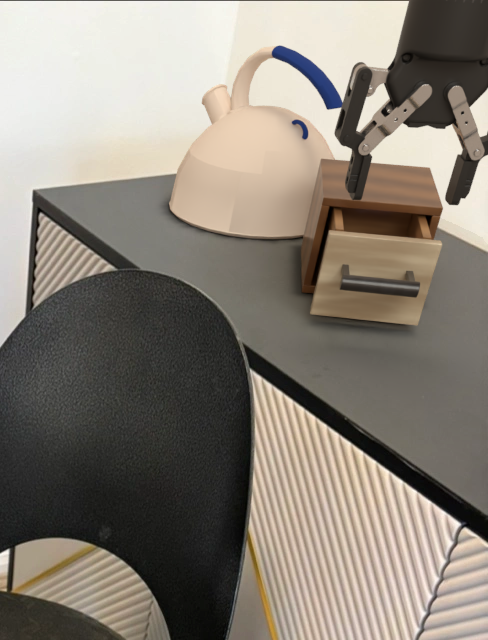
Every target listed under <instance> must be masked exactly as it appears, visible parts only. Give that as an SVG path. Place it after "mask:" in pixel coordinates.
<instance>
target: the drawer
mask: <svg viewBox="0 0 488 640" xmlns="http://www.w3.org/2000/svg"><path fill="white" fill-rule="evenodd" d="M442 248H443V243H442V240H440V239H439V240H438V239H434V240H431V234H430V231H429V227H428V224H427V220H426V216H425V215H422V214H411V213H400V212H389V211H378V210H367V209H356V208H345V207H334V206H330V209H329V214H328V218H327V222H326V226H325V231H324V235H323V239H322V243H321V248H320V252H319V256H318V260H317V265H316V272H317V283H316V287H315V291H314V294H313V295H312V299H311V304H310V308H309V314H310V315H313V316H322V317H333V318H343V319H351V320H361V321H368V322H369V321H370V322H378V323H379V322H380V323H387V324H388V323H389V324H397V325H399V324H400V325H408V326H418V325H419V323H420V319H421V316H422V313H423V310H424V306H425V303H426V300H427V297H428V293H429V290H430V287H431V284H432V280H433V277H434V274H435V270H436V266H437V264H438V261H439V258H440V254H441V250H442Z"/></svg>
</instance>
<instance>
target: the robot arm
mask: <svg viewBox="0 0 488 640" xmlns="http://www.w3.org/2000/svg"><path fill="white" fill-rule="evenodd" d="M403 19H404V20H403V23H402V27H401V31H400V36H399V39H398V42H397V46H396V52H395V55H394V58H393V60H392V62H390V64H389V66H388V67H387V68H385V67H384V68H383V67H375V66H368V65H367V64H366V63H365V62H363V61H359V62H357V63H355V64H354V65H353V67H352V69H351V72H350V76H349V79H348V83H347V87H346V90H345V93H344V97H343V99H342V102H343V104H342V107H341V108H340V110H339V113H338V114H339V115H338V117H337V121H336V125H335V129H334V133H333V134H334V137H335V138H336V140H337V141H338V143H339V144H340V145H341V146H342V147H346V148H348V149H350V150H351V154H350V158H349V161H350V162H349V167H348V171H347V175H346V179H345V187H346V189H347V191H348V193H349V195H350V197H351V199H352V200H361V199H362V196H363V192H364V188H365V184H366V180H367V176H368V172H369V168H370V164H371V163H372V161H373V156H372V154H371V153H372V152H373V151H374V150H375V149H376V148H377V146H379V145H380V144H381V142H383V140H385V139H386V138H387V137H389V136H391V135H392V134H393V133H394V132H395V131H396V130H397V129H398V128H399V127H401V125H402V124H403V125H404V126H406V127H407V128H412V129H413V128H415V129H418V128H423V127H430V128H434V129H437V130H445V129H446V128H447V127H449V126H452V128H453V130H454V132H455V134H456V137H457V139H458V141H459V144H460V147H461V150H462V151H461V153H460V154H459V153H458V154H457V155H456V158H455V161H454V166H453V167H452V171H451V176H450V179H449V181H448V185H447V188H446V191H445V196H444V200H445V202H446V203H447V204H448V206H459V205H460V203H461V199H465V200H466V198H467V197H468V195H469V193H470V191H471V189H472V185H473V182H474V180H475V175H476V172H477V169H478V166H479V163H480V161H482V159H484V158H485V157H486V156H488V131H487V132H486V134H485V135H482V136H480V134H479V129H478V126H477V123H476V120H475V119H474V115H473V113H472V111H471V107H472V106H473V105H474V104H475V103H476V101H478V100H479V99H480V98H481V96H483V95H484V94H485V93H486V92H487V90H488V0H408V3H407V7H406V11H405V15H404V18H403ZM380 85H384V88H385V90H386V93H387V96H388V99H387V100H386V101H385V102H384V104H382V105H381V107H380V108H378V110H377V111H376V112H375V113H373V115H372V117H371V119H370V120H369V122H367V123H366V124H365V125H364V127H363V128H362V129H361V130H360V131H358V130H357V129H358V126H359V123H360V119H361V116H362V113H363V109H364V106H365V102H366V99H367V98H369V97H372V96H373V95H374V94H375V93H376V90H377V88H378V87H379V86H380Z"/></svg>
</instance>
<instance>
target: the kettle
mask: <svg viewBox="0 0 488 640" xmlns="http://www.w3.org/2000/svg"><path fill="white" fill-rule="evenodd" d="M270 59H275V60H278V61H281V62H283V63H285V64H288V65H290V66H291V67H292V68H294V69H295V70H296V71H298V72H299V73H300V74H302V75H303V76H304V77H305V78H306V80H308V81H309V83H311V85H312V86H313V87H314V88H315V89H316V91H317V92H318V95H319V96H320V97H321V99H322V102H323V103H324V107H325V108H326V110H328V111H329V110H336V109H341V107H342V104H343V99H342V98H341V94H339V92H338V89H337V88H336V87H335V84H334V83H333V82H332V80H331V79H330V78H329V77H328V76H327V75H326V73H325V72H324V71H323V70H322V69H321V68H320V67H319V66H318V65H317V64H315V63H314V62H313V61H312V60H311V59H309V58H308V57H306V56H304V55H302V54H301V53H300V52H298V51H296V50H294V49H292V48H290V47H287V46H284V45H274V46H273V45H272V46H263V47H261V48H259V49H258V50H257V51H255V52H254V53H253V54H250V55H249V56H248V57H247V58H246V60H245V61H244V62H243V64H242V65H241V66H240V68H239V69H238V71H237V73H236V76H235V78H234V81H233V84H232V90H231V96H230V93H229V91H228V86H227V85H226V84H223V83H219V84H216V85H214V86H212V87H211V88H209V89H208V90H207V91H206V92H205V93H204V94H203V96H202V99H201V104H202V105H203V106H204V109H205V111H206V112H207V113H206V114H207V116H208V118H209V121H210V123H211V125H209V126H208V127H206V129H204V131H203V132H202V133H200V135H199V136H198V137H197V138H196V139H195V140H194V141H193V142H192V143H191V145H190V146H189V148H188V149H187V151H186V153H185V155H184V157H183V159H182V160H181V162H180V164H179V166H178V168H177V170H176V175H175V179H174V183H173V187H172V190H171V191H172V192H171V195H170V200H169V202H168V204H169V209H170V211H171V213H172V214H174V216H176V217H177V218H178V220H180V221H182V222H184V223H186V224H188V225H190V226H191V227H195V228H197V229H201V230H204V231H206V232H209V233H210V232H212V233H215V234H220V235H225V236H229V237H237V238H244V239H257V240H285V239H286V240H288V239H295V238H303V236H304V232H305V227H306V223H307V218H308V214H309V210H310V205H311V201H312V196H313V192H314V187H315V183H316V178H317V174H318V169H319V165H320V160H321V159H333V160H336V158H335V156H334V154H333V152H332V150H331V148H330V146H329V144H328V142H327V140H326V138H325V137H324V135H323V134H322V133H321V132H320V131H319V130H318V129H317V128H316V126H315V125H314V124H313V123H312V122H311V121H310V120H308V118H305V117H303V116H301V115H300V114H298V113H296V112H294V111H293V110H291V109H288V108H286V107H281V106H275V105H251V104H250V97H249V95H250V90H251V84H252V82H253V78H254V76H255V74H256V71H258V69H259V67H260V66H261V65H262V63H264V62H266V61H267V60H270Z"/></svg>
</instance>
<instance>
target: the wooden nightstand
mask: <svg viewBox="0 0 488 640" xmlns="http://www.w3.org/2000/svg"><path fill="white" fill-rule="evenodd" d="M349 162H350V160H345V159H344V160H343V159H335V160H333V159H321V160H320V165H319V169H318V174H317V178H316V183H315V187H314V192H313V196H312V201H311V205H310V210H309V214H308V218H307V223H306V227H305V232H304V236H303V237H302V242H301V246H300V264H301V265H300V268H301V269H300V270H301V271H300V272H301V279H300V280H301V293H304V294H313V295H314V291H315V287H316V283H317V272H316V265H317V260H318V256H319V252H320V248H321V243H322V239H323V235H324V231H325V226H326V222H327V218H328V214H329V209H330V206H334V207H345V208H356V209H367V210H378V211H389V212H400V213H411V214H422V215H425V216H426V220H427V224H428V227H429V231H430V234H431V240H435V237H436V233H437V230H438V227H439V223H440V219H441V216H442V213H443V210H444V207H443V204H442V201H441V197H440V195H439V191H438V188H437V185H436V183H435V178H434V176H433V173H432V169H431V167H426V166H415V165H403V164H393V163H391V164H390V163H379V162H378V163H377V162H371V164H370V168H369V172H368V176H367V180H366V184H365V188H364V192H363V196H362V199H361V200H352V199H351V197H350V195H349V193H348V191H347V189H346V187H345V179H346V175H347V171H348V167H349Z"/></svg>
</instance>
